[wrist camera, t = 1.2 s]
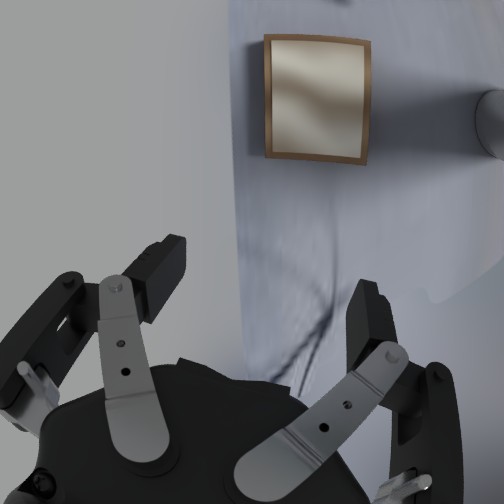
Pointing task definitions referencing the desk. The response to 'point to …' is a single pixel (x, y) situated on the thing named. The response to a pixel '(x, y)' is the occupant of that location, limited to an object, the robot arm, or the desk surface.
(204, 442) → the robot arm
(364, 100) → the tray
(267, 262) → the desk surface
